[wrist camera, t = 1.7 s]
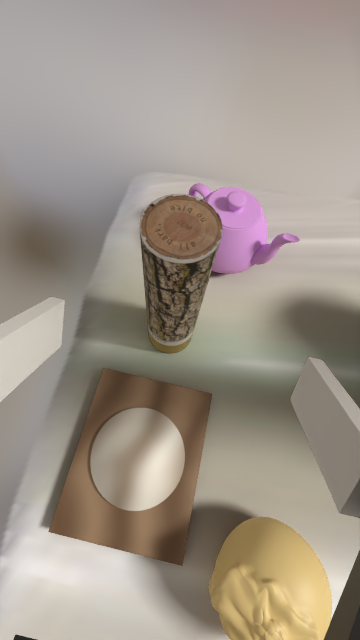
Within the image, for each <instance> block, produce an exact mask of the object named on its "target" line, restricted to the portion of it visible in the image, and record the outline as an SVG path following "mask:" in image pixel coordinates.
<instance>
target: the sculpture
mask: <svg viewBox="0 0 360 640" xmlns="http://www.w3.org/2000/svg"><path fill="white" fill-rule="evenodd" d="M209 594H210V596H211V603H212V606H213V608H214V609H215V610H216V611H218V612H219V619H220V622H221V624H222V627H223V629H224V631H225V633H226V634H227V636H228V637H229V638H230V639H231V640H324V637H325V635H326V632H327V630H328V627H329V625H330V620H331V612H332V598H331V590H330V585H329V581H328V578H327V575H326V572H325V570H324V568H323V566H322V563H321V562H320V560H319V558H318V556H317V555H316V553H315V552H314V550H313V549H312V548H311V546H310V545H309V544H308V543H307V542H306V540H305V539H304V538H303V537H302V536H301V535H299V534H298V533H297V532H296V531H295V530H293V529H292V528H291V527H289V526H288V525H286V524H284V523H282V522H280V521H278V520H276V519H272V518H268V517H255V518H251V519H248V520H246V521H244V522H242V523H241V524H239V525H238V526H237V527H236V528H234V529H233V530H232V532H231V533H230V534H229V535H228V537H227V538H226V540H225V541H224V543H223V545H222V548H221V550H220V552H219V555H218V557H217V560H216V563H215V566H214V571H213V574H212V577H211V579H210V581H209Z"/></svg>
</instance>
